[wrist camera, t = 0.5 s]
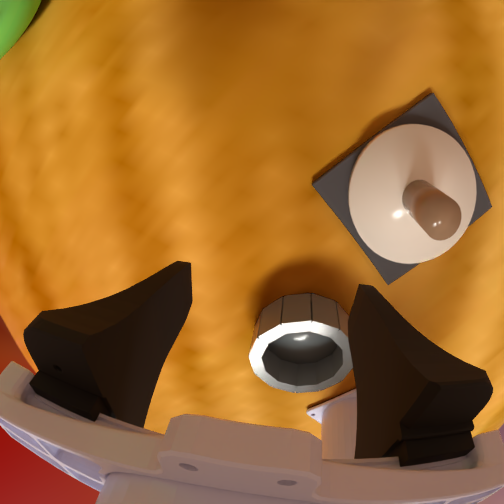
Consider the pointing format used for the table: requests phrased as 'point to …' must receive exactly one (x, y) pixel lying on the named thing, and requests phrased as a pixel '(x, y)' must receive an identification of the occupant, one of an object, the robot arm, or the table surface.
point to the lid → (412, 193)
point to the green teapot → (14, 21)
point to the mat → (337, 177)
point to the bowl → (301, 344)
